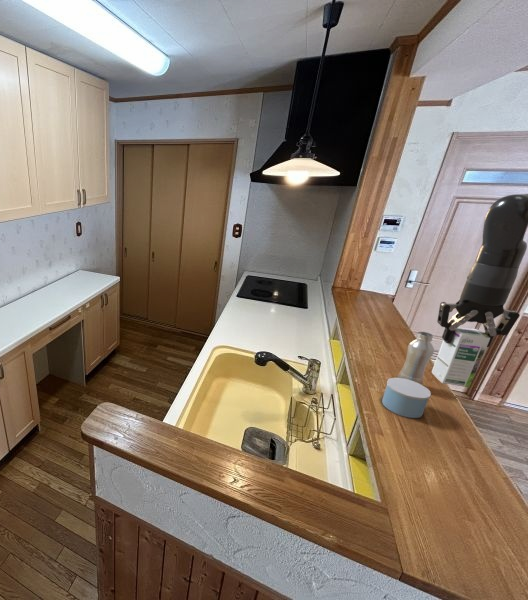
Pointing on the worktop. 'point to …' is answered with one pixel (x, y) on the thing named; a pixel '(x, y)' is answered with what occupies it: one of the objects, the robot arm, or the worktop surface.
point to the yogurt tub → (405, 397)
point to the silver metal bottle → (417, 358)
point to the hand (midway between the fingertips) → (463, 344)
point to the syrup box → (460, 357)
